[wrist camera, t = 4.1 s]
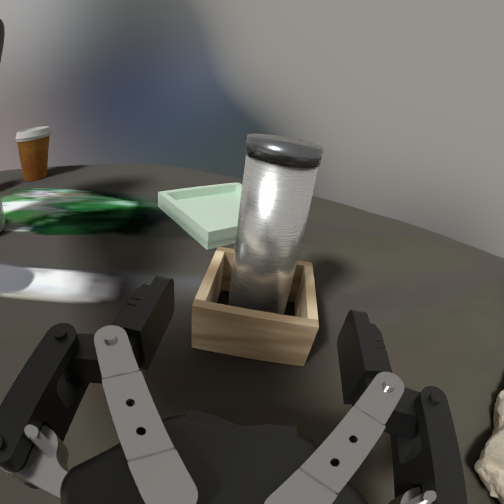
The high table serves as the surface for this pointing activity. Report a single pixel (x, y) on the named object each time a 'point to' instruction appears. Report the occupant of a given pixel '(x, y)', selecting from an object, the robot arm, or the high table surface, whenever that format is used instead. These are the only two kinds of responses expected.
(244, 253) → the canister
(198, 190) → the tray
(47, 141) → the disposable coffee cup
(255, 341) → the holder
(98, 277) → the high table surface
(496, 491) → the beige pottery shard
